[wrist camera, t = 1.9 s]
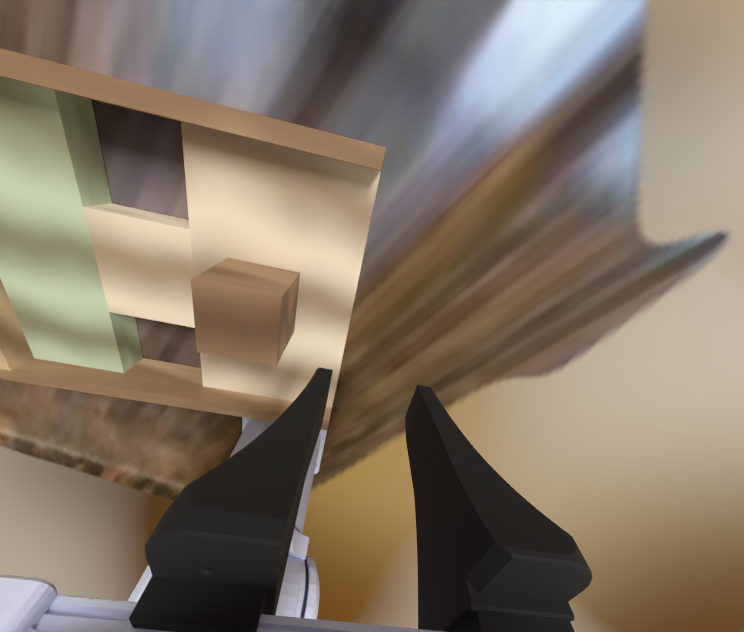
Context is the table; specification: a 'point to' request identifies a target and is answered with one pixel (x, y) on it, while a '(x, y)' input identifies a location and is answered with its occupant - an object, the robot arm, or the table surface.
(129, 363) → the board
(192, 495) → the robot arm
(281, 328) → the walnut block
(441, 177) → the table surface
